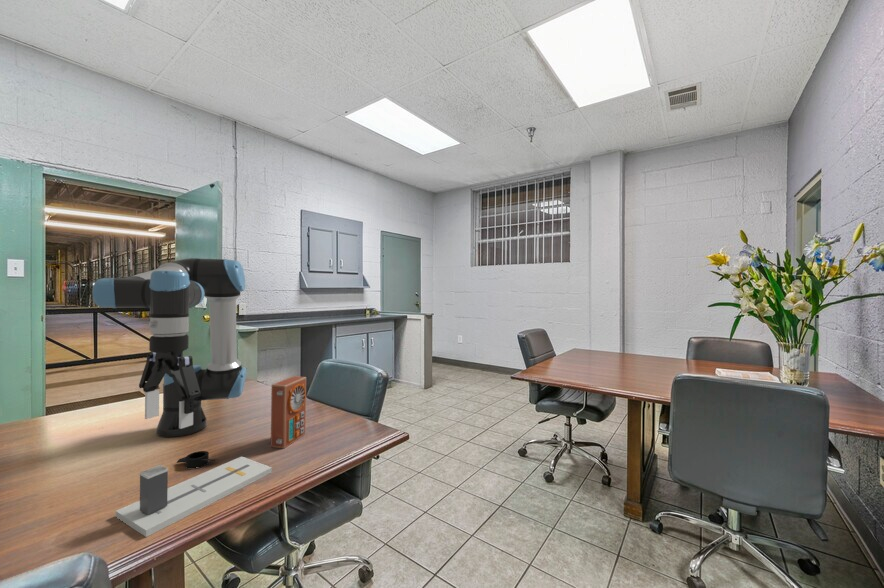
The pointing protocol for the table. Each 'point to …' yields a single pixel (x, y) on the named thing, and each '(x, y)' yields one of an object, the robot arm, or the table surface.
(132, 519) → the fader board
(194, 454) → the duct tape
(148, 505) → the slider handle
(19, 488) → the table surface
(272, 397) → the control panel
